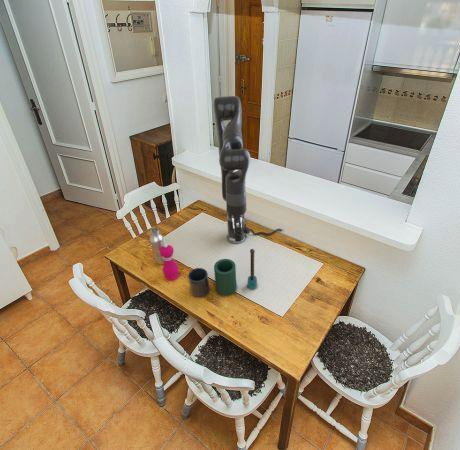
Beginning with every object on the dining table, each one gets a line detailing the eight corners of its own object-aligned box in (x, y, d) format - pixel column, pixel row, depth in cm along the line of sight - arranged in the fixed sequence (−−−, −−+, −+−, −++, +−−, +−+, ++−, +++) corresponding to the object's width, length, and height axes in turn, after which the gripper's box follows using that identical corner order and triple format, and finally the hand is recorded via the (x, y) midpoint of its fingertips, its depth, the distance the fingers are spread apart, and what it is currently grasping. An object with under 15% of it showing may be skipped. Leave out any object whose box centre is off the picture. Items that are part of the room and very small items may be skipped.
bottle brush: (252, 281, 147) (252, 244, 134) (258, 286, 145) (259, 249, 131) (246, 285, 145) (245, 249, 132) (251, 290, 143) (251, 253, 129)
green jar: (228, 277, 150) (226, 255, 141) (240, 289, 144) (239, 266, 136) (212, 287, 145) (209, 265, 137) (224, 299, 139) (222, 277, 131)
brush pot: (202, 280, 148) (200, 265, 142) (213, 291, 143) (211, 275, 137) (187, 289, 144) (184, 274, 138) (197, 300, 139) (194, 285, 133)
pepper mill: (182, 272, 153) (176, 240, 141) (175, 283, 147) (168, 250, 135) (169, 269, 155) (162, 237, 143) (161, 279, 149) (153, 247, 137)
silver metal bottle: (165, 267, 156) (158, 235, 144) (152, 265, 157) (144, 233, 145) (170, 258, 161) (164, 226, 149) (158, 256, 162) (150, 225, 150)
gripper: (247, 210, 112) (248, 245, 122) (244, 189, 124) (245, 223, 134) (226, 211, 112) (228, 246, 122) (225, 190, 123) (227, 224, 133)
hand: (237, 234), depth 128 cm, fingers open, 8 cm apart
